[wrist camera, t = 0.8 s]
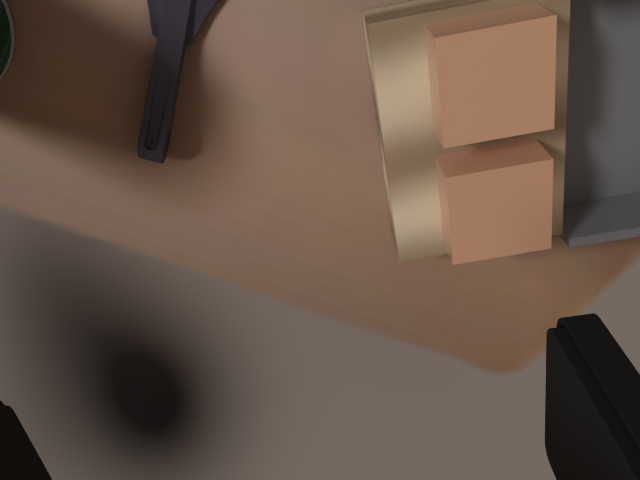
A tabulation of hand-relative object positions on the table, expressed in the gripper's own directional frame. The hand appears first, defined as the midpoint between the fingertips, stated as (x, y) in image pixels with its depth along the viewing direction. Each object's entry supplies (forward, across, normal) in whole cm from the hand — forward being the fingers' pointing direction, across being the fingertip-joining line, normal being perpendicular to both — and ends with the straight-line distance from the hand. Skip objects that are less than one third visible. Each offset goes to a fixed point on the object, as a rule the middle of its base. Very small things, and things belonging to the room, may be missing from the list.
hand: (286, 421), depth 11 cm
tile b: (+21, -9, +7) cm, 24 cm away
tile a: (+21, -9, 0) cm, 23 cm away
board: (+24, -8, +4) cm, 26 cm away
